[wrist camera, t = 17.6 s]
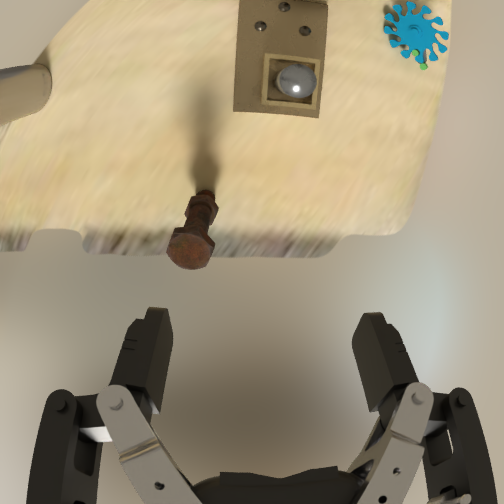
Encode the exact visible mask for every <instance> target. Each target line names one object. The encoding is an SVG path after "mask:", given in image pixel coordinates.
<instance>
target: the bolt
mask: <svg viewBox="0 0 504 504" xmlns="http://www.w3.org/2000/svg"><path fill="white" fill-rule="evenodd" d="M218 209H219V207H218V206H217V204H216V203H215V196H214V195H213V193H212V192H211V191H209V190H202V191H200V192H199V193H198V194H197V195H196V196H192V197H191V199H190V201H189V203H188V206H187V209H186V211H185V216H186V218H187V220H186V222H185V224H184V227H178V228H175V229H174V231H173V234H172V236H171V239H170V242H169V245H168V248H167V251H166V253H167V254H168V256H169V257H170V259H171V260H172V261H173V262H174V263H175V264H176V265H178V266H179V267H181V268H183V269H190V270H192V269H200V268H203V267H205V266H206V265H207V264H208V262H209V259H210V257H211V255H212V253H213V250H214V247H215V243H214V241H213V240H212V239H211V238H210V237H209V236H208V235H207V233H208V229H209V225H212V223H213V221H214V219H215V217H216V215H217V212H218Z"/></svg>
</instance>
